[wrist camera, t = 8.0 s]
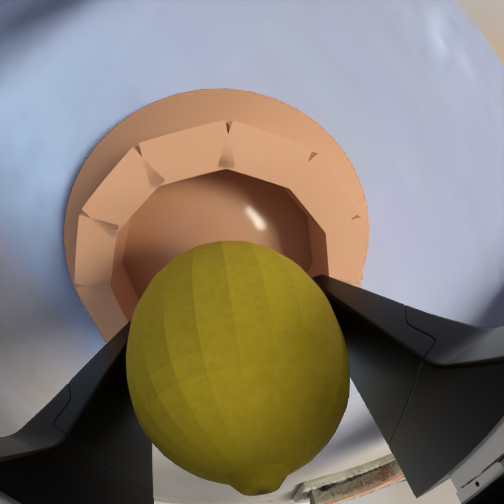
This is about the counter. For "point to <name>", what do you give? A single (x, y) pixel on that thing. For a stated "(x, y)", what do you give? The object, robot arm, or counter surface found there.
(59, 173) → the counter surface
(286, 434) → the lemon
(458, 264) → the counter surface
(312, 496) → the packaged product
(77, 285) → the holder
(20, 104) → the counter surface
